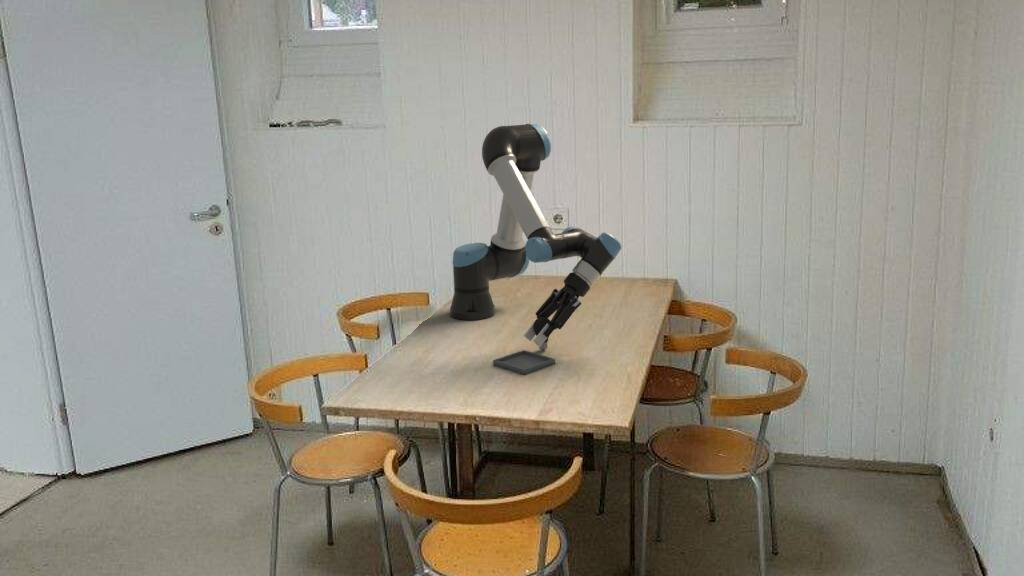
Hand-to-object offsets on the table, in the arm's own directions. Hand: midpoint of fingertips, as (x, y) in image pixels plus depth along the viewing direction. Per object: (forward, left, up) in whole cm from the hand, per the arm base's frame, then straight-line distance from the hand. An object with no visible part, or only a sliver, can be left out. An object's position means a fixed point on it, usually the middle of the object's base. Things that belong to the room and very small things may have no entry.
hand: (531, 341), depth 262 cm
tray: (+6, -10, -3) cm, 12 cm away
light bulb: (+1, +3, -4) cm, 5 cm away
